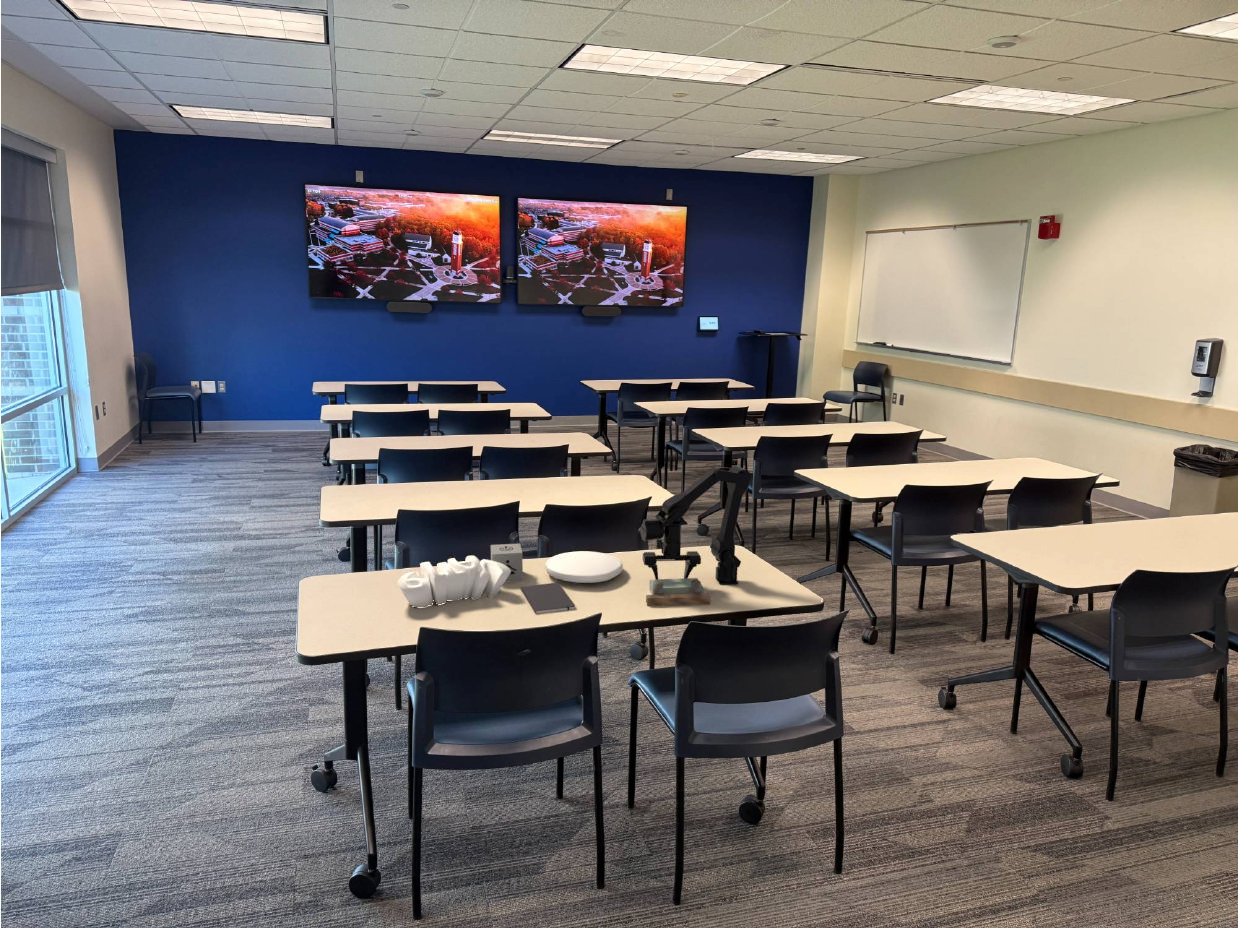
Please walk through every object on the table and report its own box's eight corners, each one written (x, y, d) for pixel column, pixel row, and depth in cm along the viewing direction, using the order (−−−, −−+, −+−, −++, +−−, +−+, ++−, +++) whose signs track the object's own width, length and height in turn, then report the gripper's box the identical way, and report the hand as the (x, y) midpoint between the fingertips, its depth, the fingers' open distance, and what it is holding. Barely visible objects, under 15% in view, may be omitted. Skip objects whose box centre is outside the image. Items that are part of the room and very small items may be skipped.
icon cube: (491, 572, 280) (490, 544, 278) (520, 570, 282) (519, 543, 280) (492, 582, 271) (492, 554, 269) (522, 580, 273) (522, 552, 271)
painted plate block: (696, 589, 269) (697, 577, 268) (702, 598, 261) (702, 586, 260) (649, 591, 267) (649, 579, 266) (653, 600, 259) (653, 588, 258)
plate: (549, 547, 293) (623, 549, 293) (549, 565, 294) (623, 567, 293) (541, 565, 265) (622, 567, 265) (540, 585, 266) (621, 587, 265)
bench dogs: (706, 597, 260) (706, 579, 259) (710, 604, 255) (710, 586, 254) (644, 598, 258) (645, 581, 257) (647, 605, 253) (647, 587, 251)
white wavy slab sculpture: (499, 580, 273) (498, 551, 270) (514, 597, 258) (513, 566, 256) (392, 596, 258) (391, 564, 256) (402, 614, 243) (400, 581, 241)
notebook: (520, 590, 265) (535, 615, 245) (520, 586, 265) (535, 610, 245) (558, 586, 269) (575, 610, 250) (558, 582, 269) (575, 605, 249)
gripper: (695, 530, 274) (694, 573, 277) (640, 530, 272) (640, 574, 275) (702, 540, 263) (700, 585, 266) (645, 541, 261) (644, 586, 265)
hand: (670, 582), depth 268 cm, fingers open, 9 cm apart
